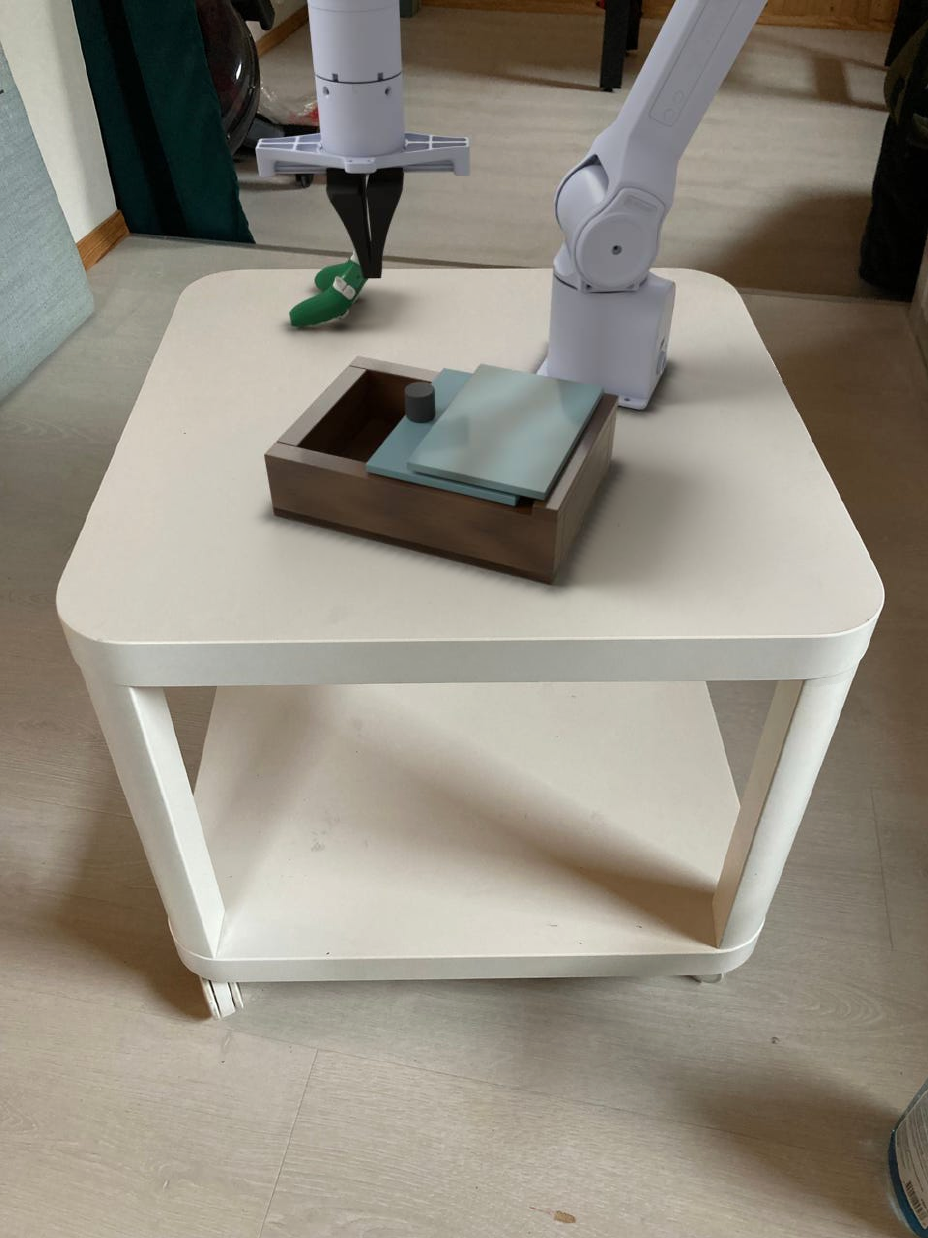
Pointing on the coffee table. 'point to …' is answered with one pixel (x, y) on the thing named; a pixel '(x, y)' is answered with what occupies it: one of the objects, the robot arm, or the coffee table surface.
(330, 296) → the green and white boots
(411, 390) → the sliding lid with knob
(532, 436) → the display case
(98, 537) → the coffee table surface
